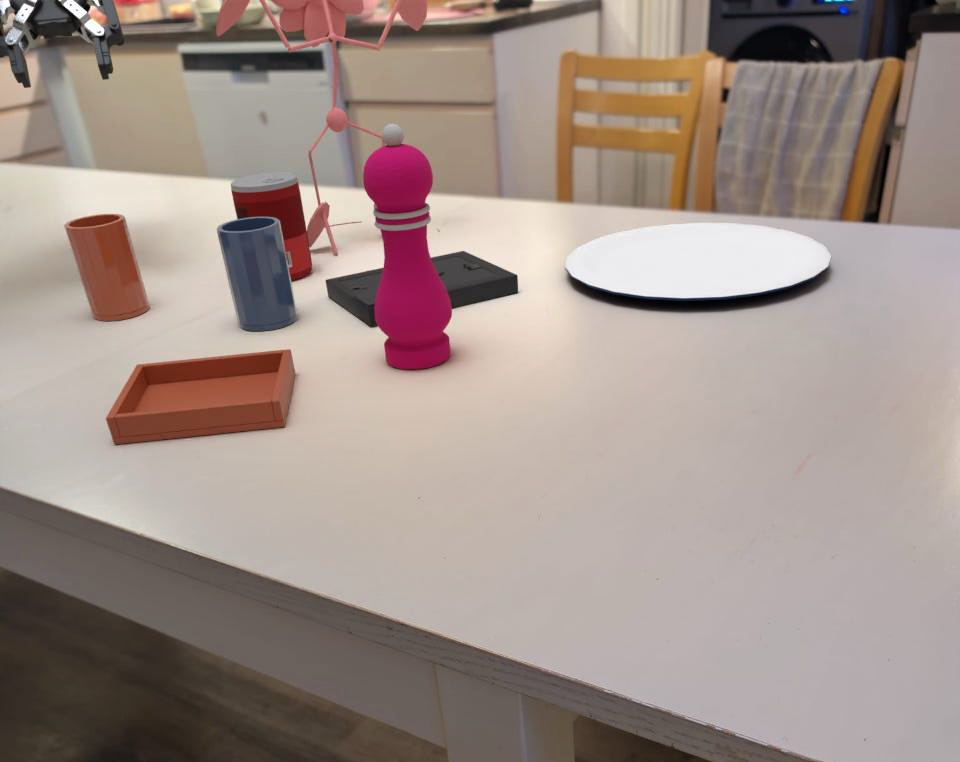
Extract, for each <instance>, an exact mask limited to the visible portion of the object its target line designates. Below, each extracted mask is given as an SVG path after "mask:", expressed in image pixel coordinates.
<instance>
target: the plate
mask: <svg viewBox="0 0 960 762" xmlns="http://www.w3.org/2000/svg"><path fill="white" fill-rule="evenodd" d="M832 257H833V256H832V255H831V253H830V252H829V250H828V248H827V246H825V245H824V244H822V243H821V242H818V241H817V240H815V239H813V238H812V237H810V236H807V235H804V234H801V233H797V232H794V231H791V230H787V229H783V228H776V227H771V226H766V225H757V224H756V225H755V224H748V223H747V224H746V223H736V222H732V223H731V222H688V223H687V222H686V223H669V224H662V225H661V224H660V225H651V226H644V227H638V228H633V229H628V230H623V231H616V232H613V233H610V234H606V235H603V236H600V237H597V238H594V239H592V240H590V241H587V242H585V243H584V244H582V245H580V246H578V247H576V248H575V249H574V250H573V251H572V252H571V253H570V254H569V255H567V257H566V258H565V264H564V270H565V271H566V272H567V273H568V274H569V276H570V277H571V278H572V279H573V280H575V281H577V282H579V283H581V284H583V285H585V286H587V287H588V288H591V289H595V290H598V291H602V292H604V293H605V292H606V293H609V294H612V295H618V296H624V297H630V298H637V299H644V300H658V301H660V300H661V301H676V302H677V301H678V302H691V301H717V300H718V301H719V300H720V301H721V300H729V299H737V298H738V299H739V298H745V297H746V298H747V297H756V296H760V295H765V294H769V293H773V292H779V291H783V290H788V289H790V288H794V287H796V286H799V285H801V284H803V283H806V282H809V281H811V280H813V279H815V278H816V277H818V276H819V275H821V274H822V273H823V272H825V271H826V270H828V268H829V266H830V263H831V260H832Z"/></svg>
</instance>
